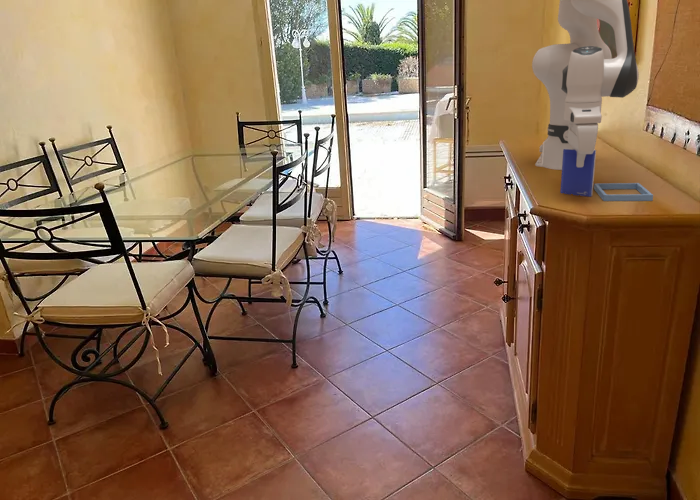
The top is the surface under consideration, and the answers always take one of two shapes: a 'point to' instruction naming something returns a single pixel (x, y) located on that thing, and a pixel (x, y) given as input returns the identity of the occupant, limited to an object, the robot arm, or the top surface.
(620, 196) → the frame
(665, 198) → the top surface
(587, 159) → the hard drive
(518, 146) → the top surface
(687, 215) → the top surface
